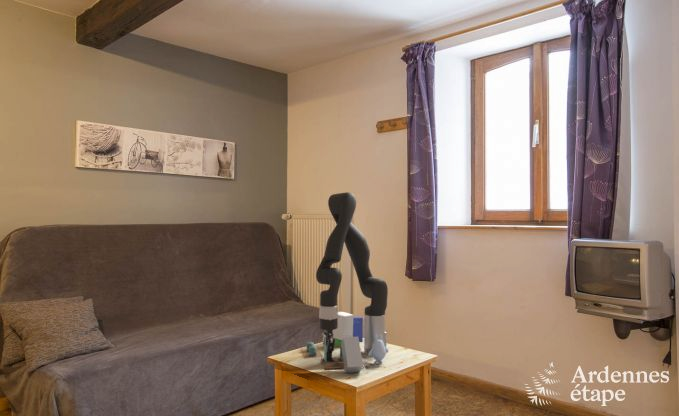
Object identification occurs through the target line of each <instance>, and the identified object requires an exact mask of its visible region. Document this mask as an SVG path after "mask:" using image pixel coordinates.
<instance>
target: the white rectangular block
mask: <svg viewBox="0 0 679 416" xmlns="http://www.w3.org/2000/svg"><path fill="white" fill-rule="evenodd" d="M341 347H342V355H343V362H344V366H343V367H344V369H343V370H344V374H349V373H360V372H362V368H364V364H363V356H362V351H361V346H360V342H359V338H358V337H344V338H343V340H342V342H341Z"/></svg>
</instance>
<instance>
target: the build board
mask: <svg viewBox="0 0 679 416" xmlns="http://www.w3.org/2000/svg"><path fill="white" fill-rule="evenodd" d="M320 362H321V364H322V366H323V367H324V368H323V370H324V371H337V370H345V369H344V362H343V355H342V347H341V343H340V346H339V356H332V362H327V363H324V357H320Z"/></svg>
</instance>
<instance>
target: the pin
mask: <svg viewBox="0 0 679 416" xmlns="http://www.w3.org/2000/svg"><path fill="white" fill-rule="evenodd" d="M329 348H331V347H329ZM323 358H324V363H327V362H332V361H327V360H326V345H325V344H324V345H323Z"/></svg>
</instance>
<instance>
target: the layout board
mask: <svg viewBox="0 0 679 416" xmlns="http://www.w3.org/2000/svg"><path fill="white" fill-rule="evenodd" d="M314 344H315V343H314V342H313V341H307V342H306V348H304V349H303V348H301V349H299V350H300V352H301V354H302V356H303V358H304V359H311V358H312V359H314V358H315V359H316V358H324V355H323V354H322V353H321V351H320V350H319V347H317V346H315V345H314Z"/></svg>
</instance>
